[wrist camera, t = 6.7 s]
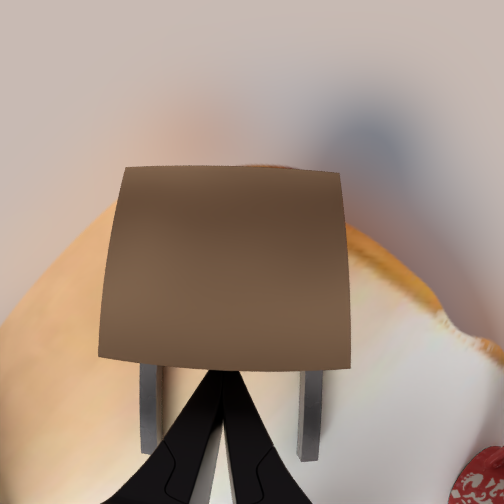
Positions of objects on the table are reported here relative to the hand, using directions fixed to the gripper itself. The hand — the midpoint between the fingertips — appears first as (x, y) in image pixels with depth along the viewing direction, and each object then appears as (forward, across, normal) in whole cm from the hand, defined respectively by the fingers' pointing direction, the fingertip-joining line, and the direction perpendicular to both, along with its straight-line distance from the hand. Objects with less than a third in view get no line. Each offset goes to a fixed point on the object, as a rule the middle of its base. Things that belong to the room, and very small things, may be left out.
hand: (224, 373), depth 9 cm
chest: (+8, 0, +3) cm, 8 cm away
